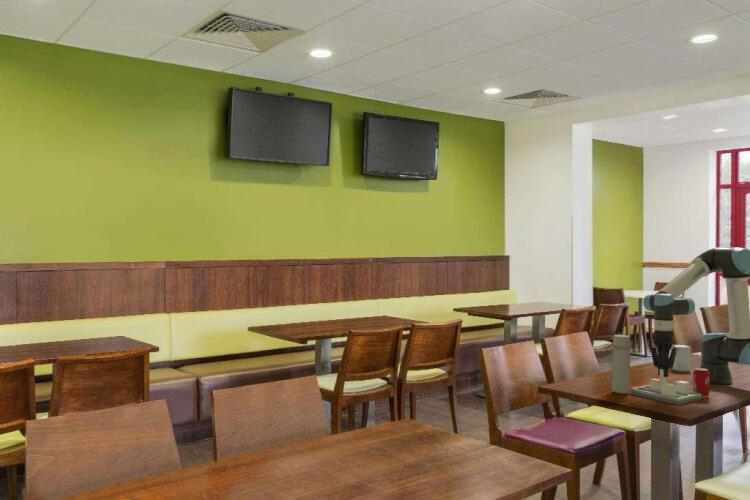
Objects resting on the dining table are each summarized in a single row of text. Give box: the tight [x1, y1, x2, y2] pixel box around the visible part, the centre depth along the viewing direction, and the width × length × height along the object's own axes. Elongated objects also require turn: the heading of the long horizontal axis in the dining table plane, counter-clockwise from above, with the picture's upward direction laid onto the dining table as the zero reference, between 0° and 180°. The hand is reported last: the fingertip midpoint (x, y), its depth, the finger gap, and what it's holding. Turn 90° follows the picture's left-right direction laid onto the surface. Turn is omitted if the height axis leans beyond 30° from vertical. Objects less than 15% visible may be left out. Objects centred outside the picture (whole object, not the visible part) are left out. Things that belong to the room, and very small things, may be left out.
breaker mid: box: [649, 378, 661, 391], centre depth 283 cm, size 4×4×5 cm
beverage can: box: [692, 367, 710, 399], centre depth 280 cm, size 6×6×12 cm
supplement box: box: [670, 344, 692, 372], centre depth 339 cm, size 7×7×13 cm
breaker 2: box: [675, 380, 691, 394], centre depth 279 cm, size 4×4×5 cm
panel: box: [630, 384, 702, 406], centre depth 280 cm, size 17×22×2 cm
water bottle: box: [607, 334, 631, 395], centre depth 287 cm, size 9×8×25 cm
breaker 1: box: [661, 382, 676, 397], centre depth 273 cm, size 4×4×5 cm
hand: (663, 384), depth 281 cm, fingers closed
